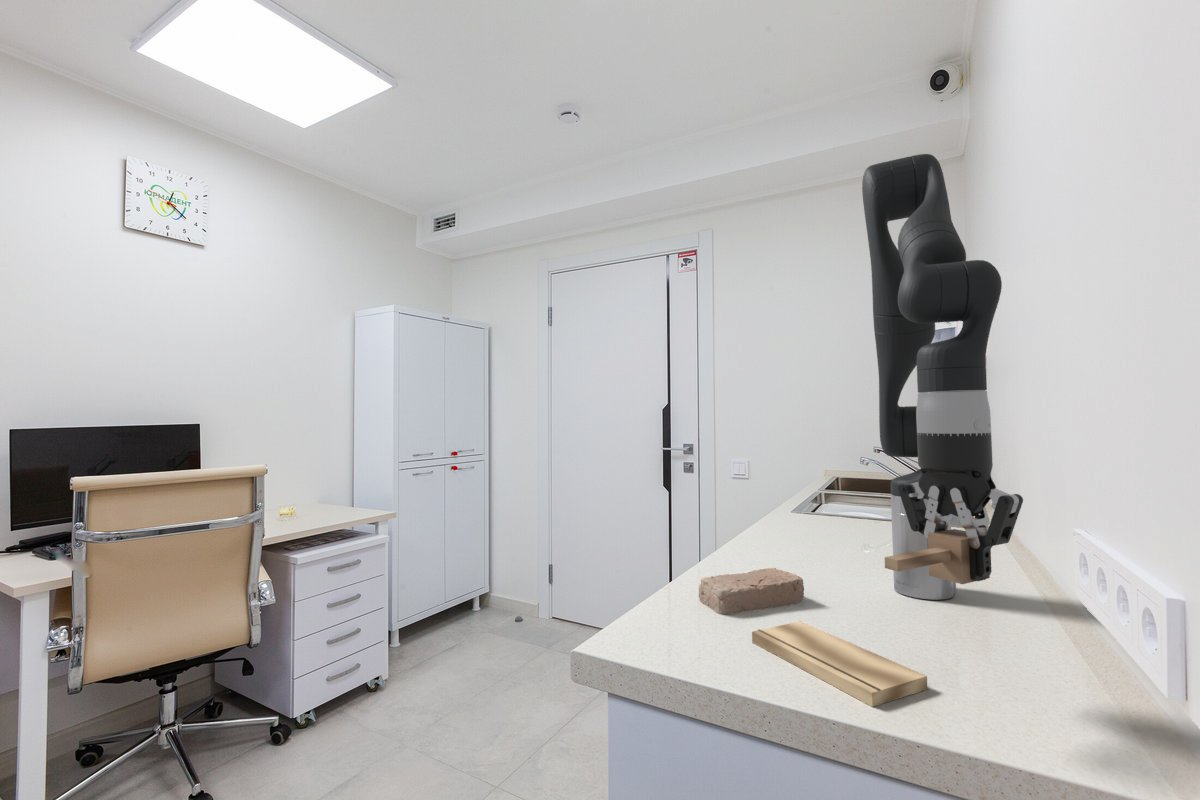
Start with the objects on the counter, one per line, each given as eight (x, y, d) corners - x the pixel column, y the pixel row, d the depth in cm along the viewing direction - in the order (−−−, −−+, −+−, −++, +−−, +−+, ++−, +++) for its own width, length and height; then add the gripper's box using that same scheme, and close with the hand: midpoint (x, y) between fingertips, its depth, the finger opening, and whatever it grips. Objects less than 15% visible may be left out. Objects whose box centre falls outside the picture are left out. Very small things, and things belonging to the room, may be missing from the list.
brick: (721, 617, 91) (720, 588, 91) (696, 602, 99) (696, 574, 99) (806, 605, 96) (806, 577, 96) (776, 591, 104) (776, 565, 104)
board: (800, 631, 84) (800, 620, 84) (927, 689, 66) (927, 675, 66) (752, 642, 80) (751, 630, 80) (872, 706, 62) (871, 692, 62)
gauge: (960, 568, 70) (959, 528, 70) (994, 576, 66) (993, 534, 67) (876, 586, 64) (874, 542, 64) (908, 596, 60) (907, 549, 60)
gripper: (1038, 429, 62) (1045, 586, 62) (918, 428, 75) (923, 557, 75) (996, 431, 59) (1003, 596, 59) (879, 429, 72) (883, 565, 72)
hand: (958, 574), depth 67 cm, fingers closed on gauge, 4 cm apart
